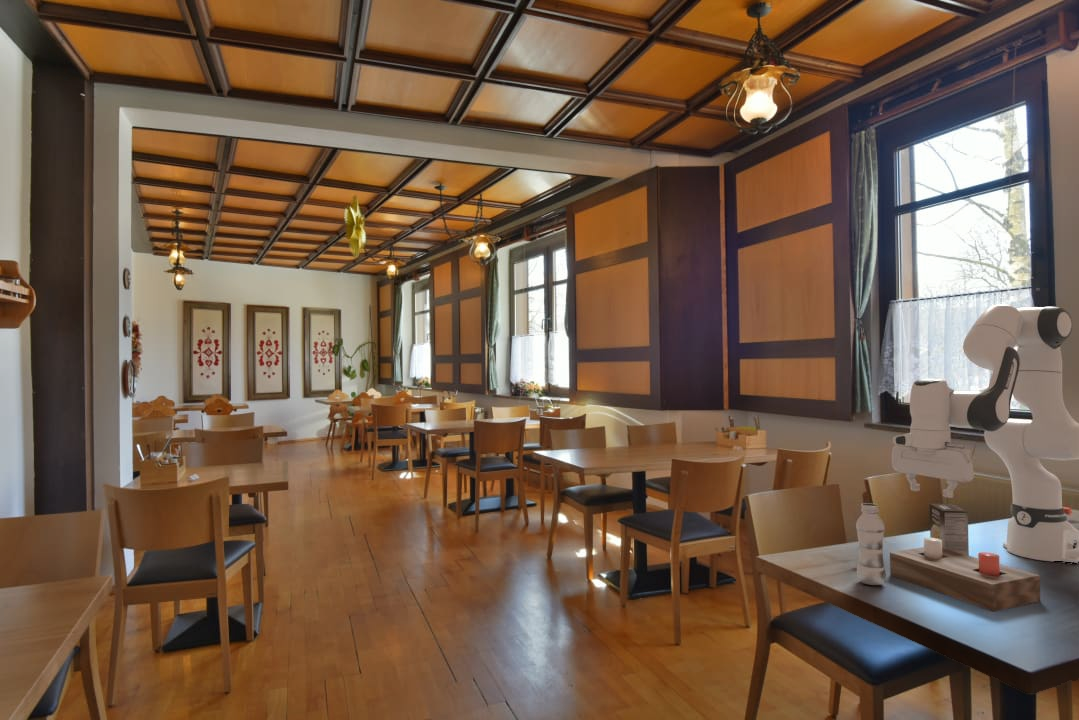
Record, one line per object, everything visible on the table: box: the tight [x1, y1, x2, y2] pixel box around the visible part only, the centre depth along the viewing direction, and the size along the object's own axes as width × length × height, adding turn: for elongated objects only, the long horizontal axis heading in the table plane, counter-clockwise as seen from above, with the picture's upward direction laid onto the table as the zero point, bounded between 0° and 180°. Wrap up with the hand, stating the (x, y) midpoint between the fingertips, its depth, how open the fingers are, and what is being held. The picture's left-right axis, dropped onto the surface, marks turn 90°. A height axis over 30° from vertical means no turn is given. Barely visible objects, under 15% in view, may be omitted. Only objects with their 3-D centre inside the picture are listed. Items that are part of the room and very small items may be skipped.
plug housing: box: [889, 546, 1041, 612], centre depth 150 cm, size 16×26×6 cm, turn 20°
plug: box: [923, 537, 942, 559], centre depth 157 cm, size 4×4×6 cm
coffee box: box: [929, 503, 970, 556], centre depth 167 cm, size 9×6×16 cm
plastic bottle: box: [855, 502, 887, 586], centre depth 153 cm, size 6×7×20 cm
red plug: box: [977, 551, 1001, 576], centre depth 143 cm, size 4×4×6 cm
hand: (931, 493), depth 157 cm, fingers open, 8 cm apart
